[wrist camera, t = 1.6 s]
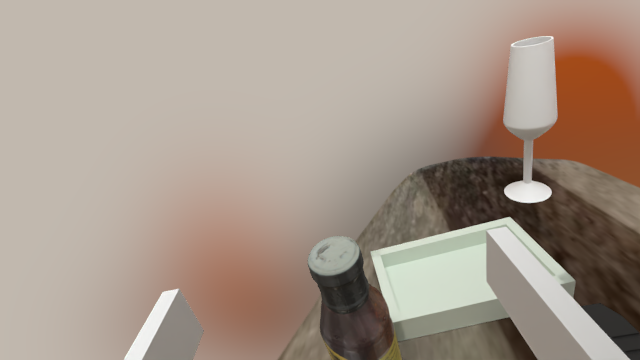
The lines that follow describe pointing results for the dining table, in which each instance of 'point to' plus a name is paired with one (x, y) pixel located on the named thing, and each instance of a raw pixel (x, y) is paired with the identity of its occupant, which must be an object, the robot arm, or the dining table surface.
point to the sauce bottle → (351, 304)
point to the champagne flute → (530, 107)
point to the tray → (448, 280)
